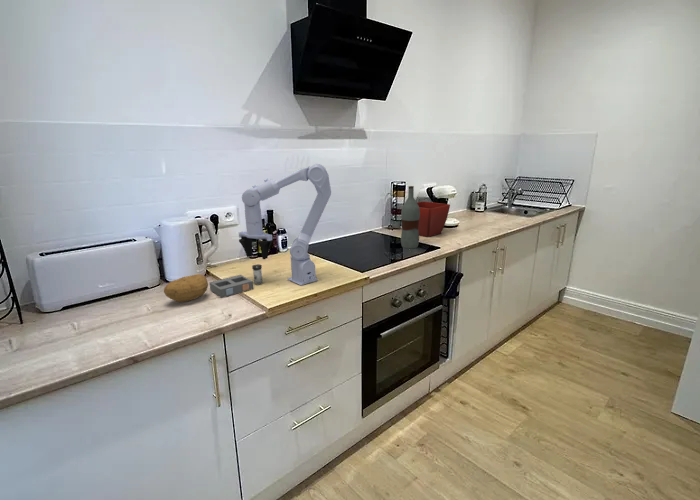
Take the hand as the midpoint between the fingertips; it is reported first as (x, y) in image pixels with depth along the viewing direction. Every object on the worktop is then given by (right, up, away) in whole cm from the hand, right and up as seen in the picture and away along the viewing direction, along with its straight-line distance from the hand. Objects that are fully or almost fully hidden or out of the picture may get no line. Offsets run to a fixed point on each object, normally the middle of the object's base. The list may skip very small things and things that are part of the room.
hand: (257, 257), depth 140 cm
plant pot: (+78, +12, +74) cm, 108 cm away
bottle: (+65, +4, +47) cm, 80 cm away
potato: (-20, -14, -14) cm, 28 cm away
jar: (0, -10, 0) cm, 10 cm away
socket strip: (-8, -11, -5) cm, 15 cm away
